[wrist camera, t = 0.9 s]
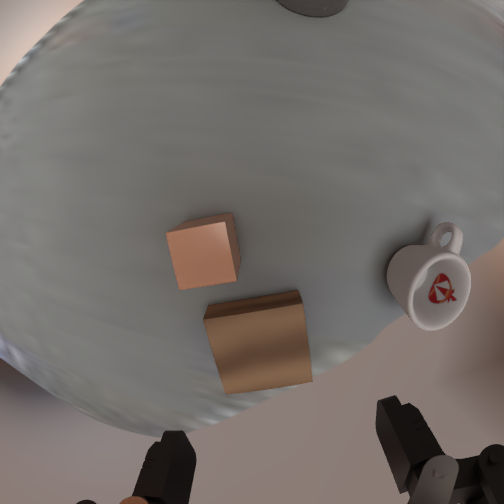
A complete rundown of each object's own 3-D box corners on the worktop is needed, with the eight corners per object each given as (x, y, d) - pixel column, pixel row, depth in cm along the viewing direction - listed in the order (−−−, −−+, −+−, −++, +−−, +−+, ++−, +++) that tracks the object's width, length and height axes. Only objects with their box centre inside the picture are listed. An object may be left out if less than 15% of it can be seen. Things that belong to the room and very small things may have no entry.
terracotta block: (185, 221, 31) (165, 232, 24) (232, 212, 30) (225, 221, 23) (195, 267, 32) (179, 289, 25) (241, 259, 31) (236, 281, 25)
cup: (405, 202, 30) (445, 210, 22) (452, 231, 30) (493, 245, 22) (366, 289, 32) (394, 319, 24) (415, 309, 33) (447, 339, 25)
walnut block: (209, 304, 33) (203, 319, 29) (297, 288, 32) (302, 303, 29) (228, 374, 35) (225, 394, 31) (307, 362, 35) (312, 381, 31)
